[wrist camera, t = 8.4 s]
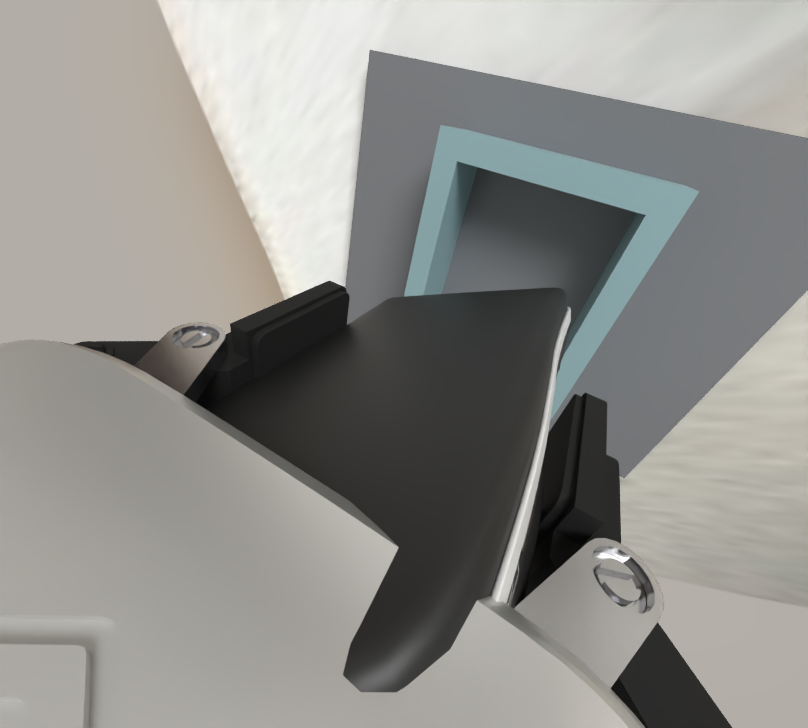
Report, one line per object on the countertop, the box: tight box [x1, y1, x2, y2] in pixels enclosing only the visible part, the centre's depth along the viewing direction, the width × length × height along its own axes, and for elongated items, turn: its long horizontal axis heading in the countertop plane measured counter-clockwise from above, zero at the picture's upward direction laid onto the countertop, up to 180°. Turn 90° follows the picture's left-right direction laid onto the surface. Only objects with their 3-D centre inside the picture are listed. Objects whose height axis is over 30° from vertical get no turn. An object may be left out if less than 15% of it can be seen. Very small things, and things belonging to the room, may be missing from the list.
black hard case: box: [207, 288, 571, 692], centre depth 9 cm, size 7×4×11 cm, turn 100°
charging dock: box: [346, 50, 808, 478], centre depth 17 cm, size 20×16×4 cm
